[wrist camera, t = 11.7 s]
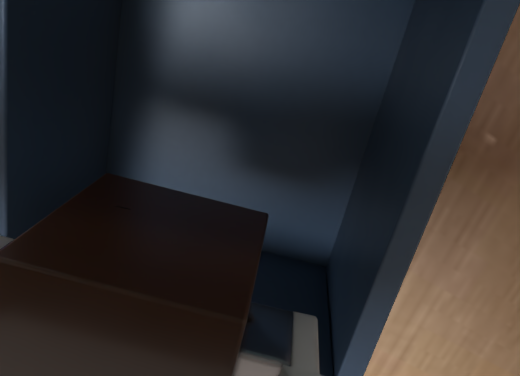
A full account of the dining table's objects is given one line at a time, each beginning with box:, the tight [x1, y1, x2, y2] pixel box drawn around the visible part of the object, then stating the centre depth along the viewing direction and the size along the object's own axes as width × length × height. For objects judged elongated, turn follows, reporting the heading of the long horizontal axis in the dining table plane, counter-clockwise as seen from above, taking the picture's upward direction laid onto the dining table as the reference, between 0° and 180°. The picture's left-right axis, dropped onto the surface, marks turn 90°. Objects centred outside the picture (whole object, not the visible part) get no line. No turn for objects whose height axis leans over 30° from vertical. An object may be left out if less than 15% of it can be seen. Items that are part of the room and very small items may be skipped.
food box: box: [0, 0, 520, 376], centre depth 15 cm, size 16×13×8 cm
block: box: [0, 173, 269, 376], centre depth 9 cm, size 4×4×4 cm
